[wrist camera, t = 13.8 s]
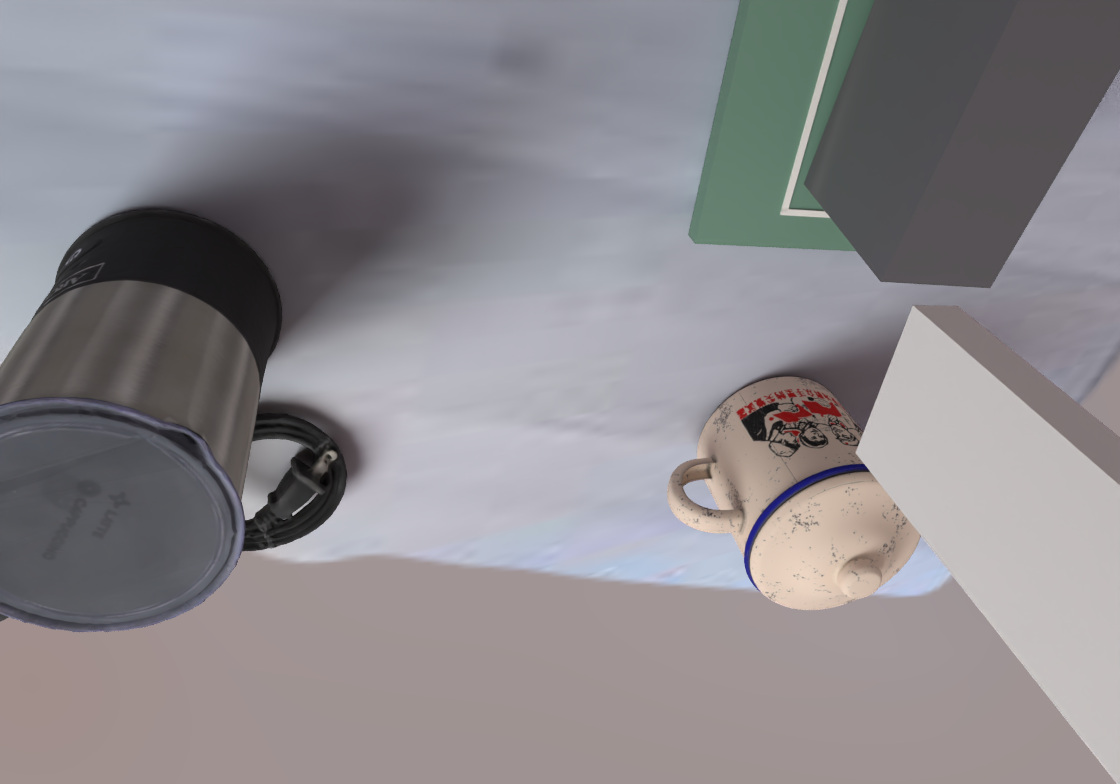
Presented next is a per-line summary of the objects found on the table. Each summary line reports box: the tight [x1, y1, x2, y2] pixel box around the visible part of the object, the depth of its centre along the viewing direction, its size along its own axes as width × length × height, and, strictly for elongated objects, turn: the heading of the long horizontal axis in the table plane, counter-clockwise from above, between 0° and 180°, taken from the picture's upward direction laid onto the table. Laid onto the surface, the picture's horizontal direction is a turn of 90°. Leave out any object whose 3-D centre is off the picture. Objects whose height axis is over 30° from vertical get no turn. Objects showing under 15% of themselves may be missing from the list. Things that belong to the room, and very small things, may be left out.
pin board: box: [688, 0, 875, 251], centre depth 36 cm, size 14×16×4 cm
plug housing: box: [804, 0, 1120, 288], centre depth 31 cm, size 5×16×8 cm, turn 172°
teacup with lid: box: [667, 376, 921, 610], centre depth 43 cm, size 12×9×12 cm
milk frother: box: [0, 209, 347, 632], centre depth 34 cm, size 14×16×15 cm
